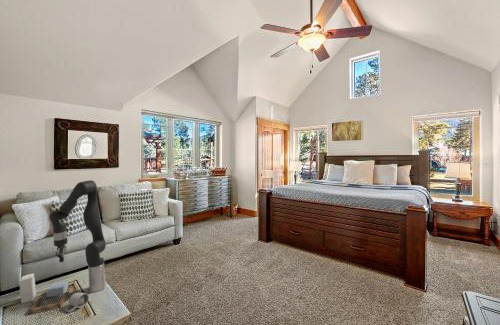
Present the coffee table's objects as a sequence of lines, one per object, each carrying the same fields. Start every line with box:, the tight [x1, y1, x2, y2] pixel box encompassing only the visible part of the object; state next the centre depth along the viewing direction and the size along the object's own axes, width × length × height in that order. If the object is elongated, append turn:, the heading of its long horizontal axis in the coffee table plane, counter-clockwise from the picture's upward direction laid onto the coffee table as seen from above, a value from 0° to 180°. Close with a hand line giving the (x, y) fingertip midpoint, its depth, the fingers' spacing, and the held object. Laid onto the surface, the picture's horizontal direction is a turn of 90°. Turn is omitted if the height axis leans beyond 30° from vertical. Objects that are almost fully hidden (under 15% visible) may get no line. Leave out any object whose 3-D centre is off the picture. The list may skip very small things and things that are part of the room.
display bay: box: [28, 291, 69, 315], centre depth 144 cm, size 15×13×2 cm
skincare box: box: [18, 272, 37, 304], centre depth 150 cm, size 8×6×15 cm
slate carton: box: [46, 280, 69, 298], centre depth 157 cm, size 9×8×5 cm
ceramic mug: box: [65, 292, 90, 313], centre depth 141 cm, size 11×8×8 cm
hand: (61, 261), depth 165 cm, fingers closed
